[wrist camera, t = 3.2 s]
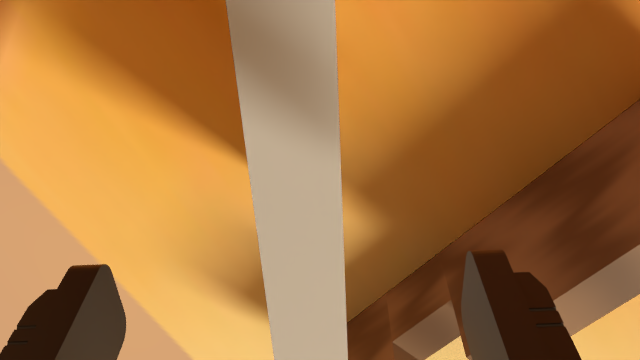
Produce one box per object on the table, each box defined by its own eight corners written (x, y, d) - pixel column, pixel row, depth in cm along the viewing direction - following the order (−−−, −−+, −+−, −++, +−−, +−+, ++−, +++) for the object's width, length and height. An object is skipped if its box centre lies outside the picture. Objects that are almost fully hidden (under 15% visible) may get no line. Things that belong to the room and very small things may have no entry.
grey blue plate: (264, -182, 23) (200, -183, 11) (326, -186, 23) (327, -191, 11) (296, 192, 33) (280, 404, 21) (340, 190, 33) (349, 402, 21)
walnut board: (677, 71, 29) (785, 148, 22) (702, 102, 30) (814, 186, 23) (325, 340, 39) (325, 449, 32) (351, 357, 40) (357, 467, 33)
